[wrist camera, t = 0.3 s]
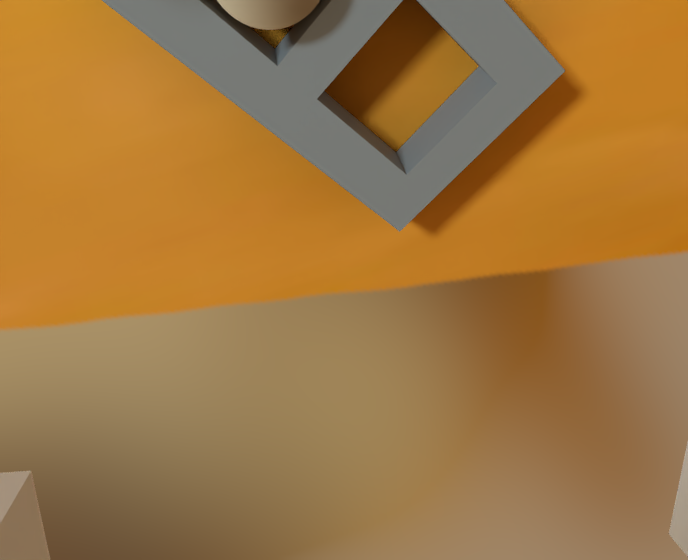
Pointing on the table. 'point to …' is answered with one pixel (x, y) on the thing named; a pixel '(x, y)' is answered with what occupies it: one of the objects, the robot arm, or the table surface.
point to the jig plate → (329, 60)
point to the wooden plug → (269, 12)
